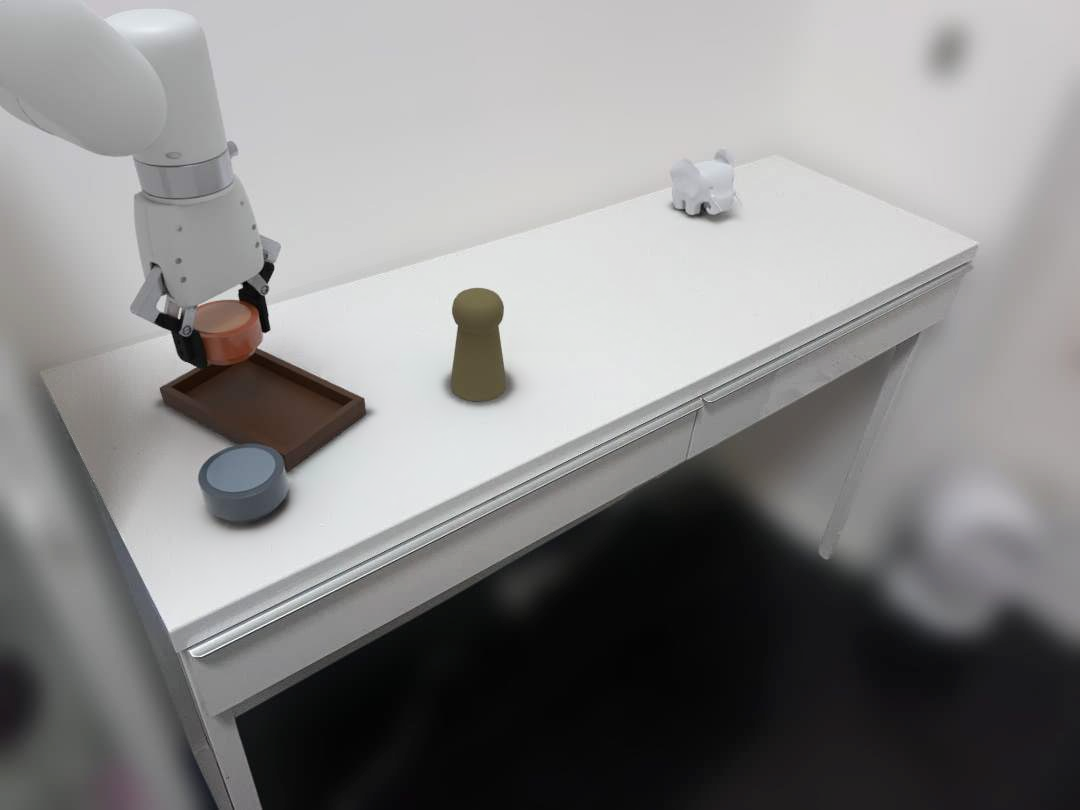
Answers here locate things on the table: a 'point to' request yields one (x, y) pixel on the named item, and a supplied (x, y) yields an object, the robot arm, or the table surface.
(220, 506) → the slate dish
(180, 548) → the table surface
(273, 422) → the tray
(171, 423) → the table surface
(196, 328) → the terracotta dish
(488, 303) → the pepper shaker
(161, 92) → the robot arm
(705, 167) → the elephant figurine
